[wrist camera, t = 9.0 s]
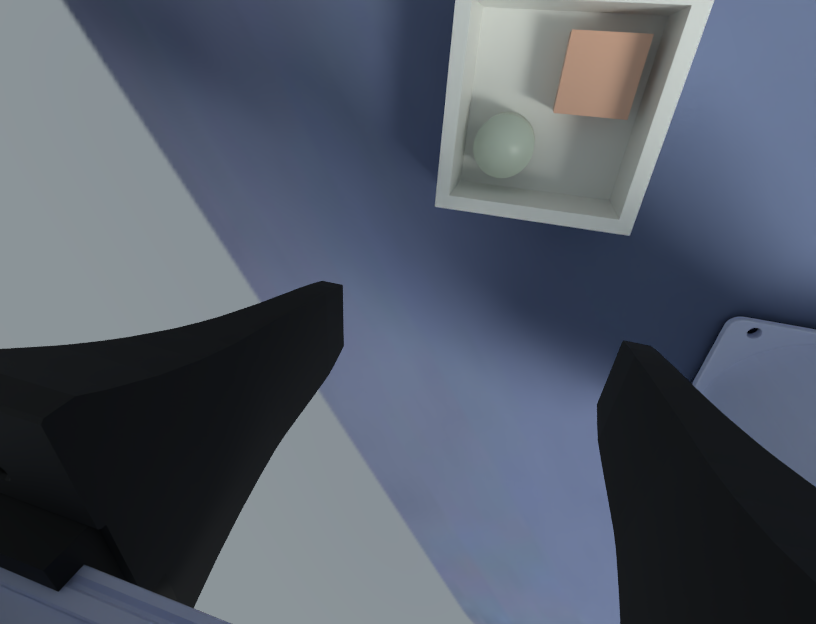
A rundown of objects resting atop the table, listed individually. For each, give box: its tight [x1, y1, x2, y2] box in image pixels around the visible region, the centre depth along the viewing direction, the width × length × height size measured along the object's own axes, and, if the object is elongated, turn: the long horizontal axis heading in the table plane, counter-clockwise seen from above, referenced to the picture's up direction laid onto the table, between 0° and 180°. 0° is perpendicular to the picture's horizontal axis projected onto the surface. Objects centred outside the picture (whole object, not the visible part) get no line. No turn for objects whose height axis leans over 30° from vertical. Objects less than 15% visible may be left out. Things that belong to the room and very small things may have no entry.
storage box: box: [435, 0, 714, 236], centre depth 15 cm, size 7×7×3 cm
